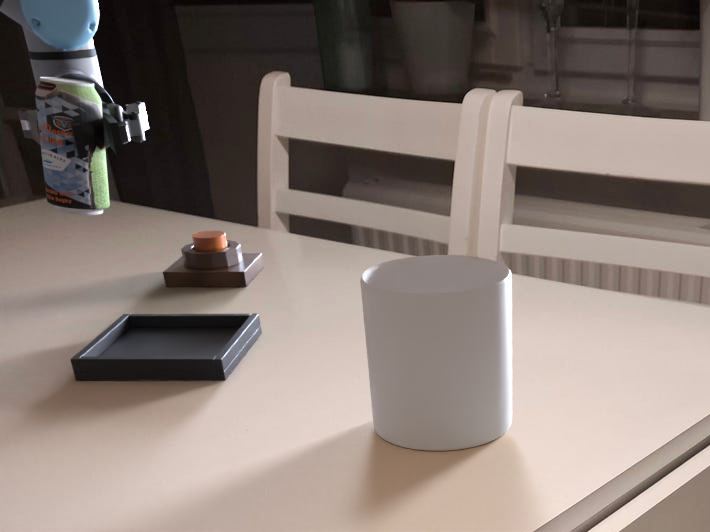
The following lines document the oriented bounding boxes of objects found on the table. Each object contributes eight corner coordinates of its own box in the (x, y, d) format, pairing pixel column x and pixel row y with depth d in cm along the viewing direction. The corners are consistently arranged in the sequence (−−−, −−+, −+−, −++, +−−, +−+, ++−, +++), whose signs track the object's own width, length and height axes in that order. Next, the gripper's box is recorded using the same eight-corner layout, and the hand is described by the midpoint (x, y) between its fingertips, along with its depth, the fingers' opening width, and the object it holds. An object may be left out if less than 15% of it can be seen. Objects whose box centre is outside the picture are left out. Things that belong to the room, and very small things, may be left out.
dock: (75, 380, 96) (69, 359, 95) (127, 333, 107) (123, 313, 106) (225, 380, 95) (221, 359, 94) (262, 332, 106) (259, 313, 105)
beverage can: (43, 214, 104) (7, 77, 97) (111, 204, 108) (81, 71, 100) (63, 224, 100) (27, 82, 93) (134, 213, 104) (104, 75, 96)
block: (165, 287, 122) (159, 255, 119) (187, 267, 129) (181, 238, 126) (246, 286, 121) (241, 255, 119) (264, 267, 128) (259, 237, 126)
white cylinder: (409, 393, 91) (399, 250, 84) (530, 407, 87) (532, 259, 80) (349, 441, 82) (333, 287, 75) (482, 459, 79) (478, 299, 72)
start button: (190, 254, 121) (187, 238, 120) (200, 246, 125) (197, 230, 123) (222, 253, 121) (220, 238, 120) (231, 245, 124) (229, 230, 123)
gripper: (158, 144, 118) (189, 177, 101) (16, 155, 114) (23, 191, 96) (143, 68, 113) (173, 89, 96) (-5, 77, 109) (-2, 100, 92)
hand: (98, 140), depth 96 cm, fingers closed on beverage can, 3 cm apart
